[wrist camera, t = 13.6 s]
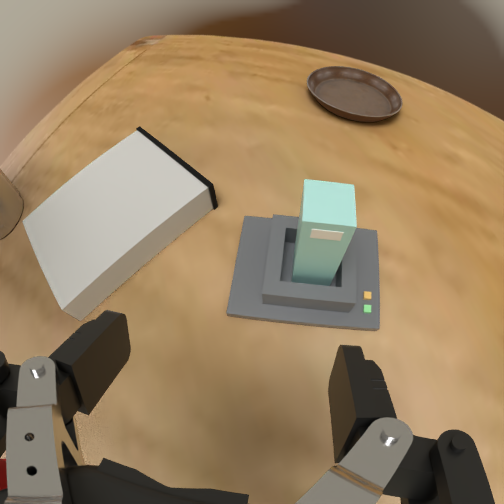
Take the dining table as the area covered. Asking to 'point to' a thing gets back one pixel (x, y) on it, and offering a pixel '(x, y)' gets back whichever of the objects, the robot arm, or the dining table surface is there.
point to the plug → (323, 231)
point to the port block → (300, 294)
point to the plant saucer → (354, 93)
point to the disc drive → (115, 219)
